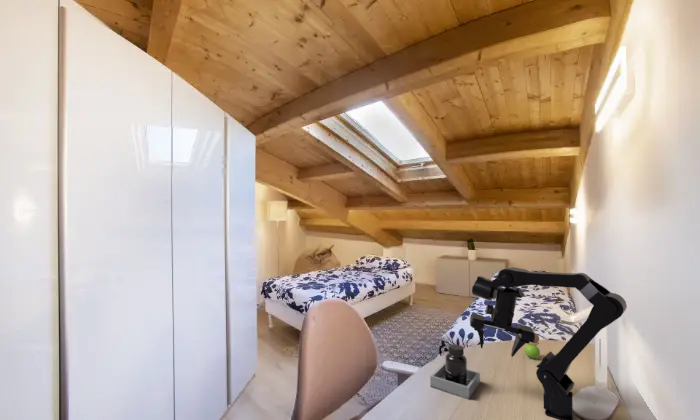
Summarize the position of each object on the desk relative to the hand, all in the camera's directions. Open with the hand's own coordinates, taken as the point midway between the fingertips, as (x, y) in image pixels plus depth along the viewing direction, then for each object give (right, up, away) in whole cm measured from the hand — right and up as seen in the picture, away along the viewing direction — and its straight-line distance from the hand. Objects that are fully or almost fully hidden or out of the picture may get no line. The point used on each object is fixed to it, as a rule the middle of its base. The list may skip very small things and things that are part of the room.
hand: (496, 351), depth 104 cm
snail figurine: (+25, -13, +24) cm, 38 cm away
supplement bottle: (-12, -12, +3) cm, 17 cm away
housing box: (-12, -12, +3) cm, 18 cm away
